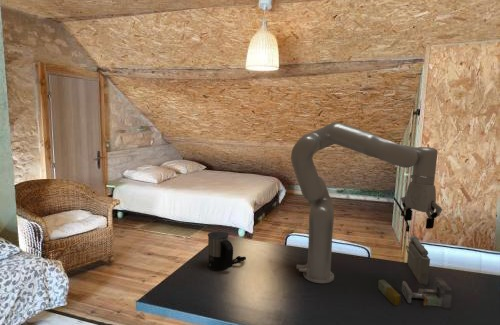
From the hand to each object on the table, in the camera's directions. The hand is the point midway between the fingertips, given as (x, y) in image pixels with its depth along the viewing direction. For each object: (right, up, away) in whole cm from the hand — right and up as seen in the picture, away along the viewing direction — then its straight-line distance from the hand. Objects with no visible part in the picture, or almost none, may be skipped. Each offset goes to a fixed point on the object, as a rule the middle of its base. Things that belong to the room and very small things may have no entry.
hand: (418, 224), depth 127 cm
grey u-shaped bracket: (+4, -27, -5) cm, 28 cm away
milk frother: (-75, -23, +21) cm, 81 cm away
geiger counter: (+8, -24, +20) cm, 32 cm away
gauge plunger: (-1, -27, -5) cm, 27 cm away
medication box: (-12, -27, -2) cm, 30 cm away
